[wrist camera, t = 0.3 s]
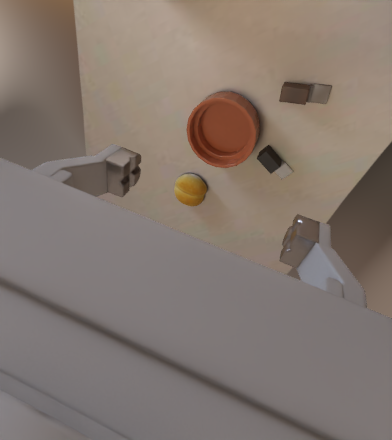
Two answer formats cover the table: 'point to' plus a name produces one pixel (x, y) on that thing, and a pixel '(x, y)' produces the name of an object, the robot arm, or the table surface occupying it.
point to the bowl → (223, 129)
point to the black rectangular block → (274, 162)
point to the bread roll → (190, 189)
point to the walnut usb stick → (304, 93)
